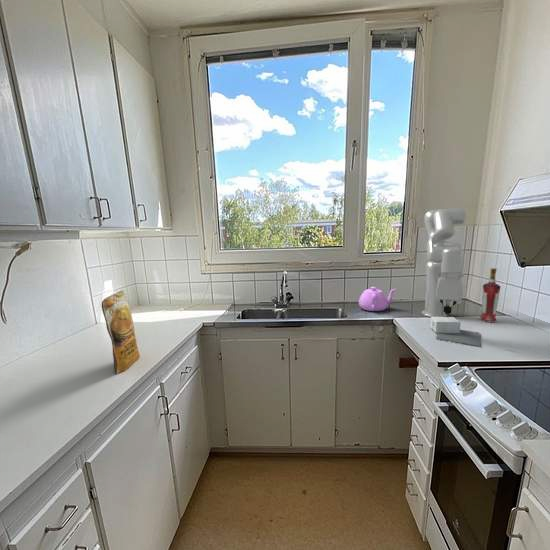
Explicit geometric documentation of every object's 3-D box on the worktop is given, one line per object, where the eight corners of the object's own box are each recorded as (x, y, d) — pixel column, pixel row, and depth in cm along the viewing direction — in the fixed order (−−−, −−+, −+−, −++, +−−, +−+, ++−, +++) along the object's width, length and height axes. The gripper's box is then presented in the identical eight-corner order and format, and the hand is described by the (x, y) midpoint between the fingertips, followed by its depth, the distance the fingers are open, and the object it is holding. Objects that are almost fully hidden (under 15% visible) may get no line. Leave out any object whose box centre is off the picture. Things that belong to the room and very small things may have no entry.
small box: (435, 332, 135) (460, 333, 132) (436, 321, 134) (461, 322, 132) (429, 327, 142) (453, 328, 140) (430, 316, 142) (454, 317, 139)
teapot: (397, 315, 164) (398, 291, 162) (358, 312, 170) (359, 290, 168) (393, 305, 185) (394, 284, 183) (358, 303, 191) (359, 283, 189)
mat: (440, 327, 143) (440, 326, 143) (479, 333, 134) (479, 332, 134) (436, 339, 128) (436, 338, 128) (479, 347, 119) (479, 345, 119)
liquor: (479, 317, 157) (484, 267, 152) (496, 319, 153) (501, 268, 148) (479, 321, 151) (484, 269, 146) (497, 323, 147) (503, 270, 142)
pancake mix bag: (102, 376, 102) (92, 300, 97) (129, 353, 120) (122, 288, 116) (121, 376, 102) (112, 299, 97) (145, 353, 120) (138, 288, 116)
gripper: (470, 275, 129) (466, 314, 132) (432, 273, 138) (430, 310, 140) (469, 278, 123) (466, 319, 126) (430, 275, 131) (428, 313, 134)
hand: (447, 314), depth 133 cm, fingers closed
